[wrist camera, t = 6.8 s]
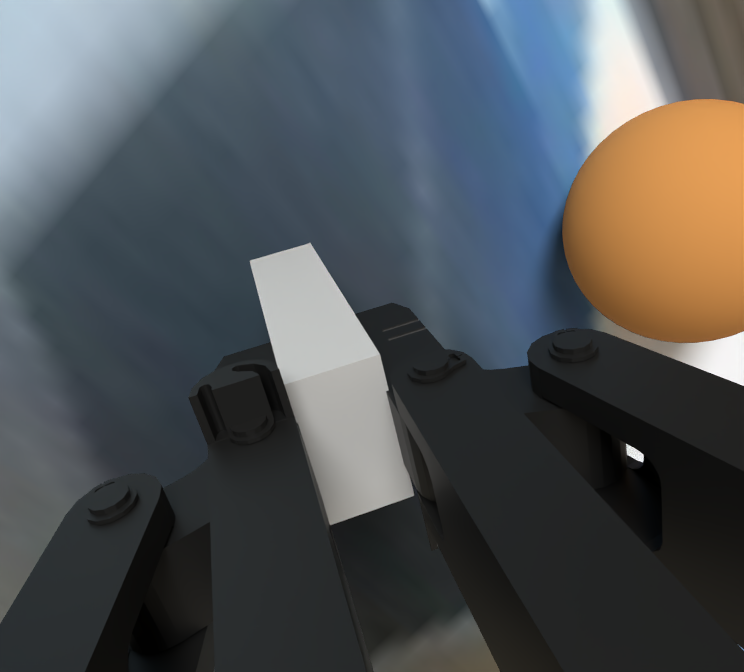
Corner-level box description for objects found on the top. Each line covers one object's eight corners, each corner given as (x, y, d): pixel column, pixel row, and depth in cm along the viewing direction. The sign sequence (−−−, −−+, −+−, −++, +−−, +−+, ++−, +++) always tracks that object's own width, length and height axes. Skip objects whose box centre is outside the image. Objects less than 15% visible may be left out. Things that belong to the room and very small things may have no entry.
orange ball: (785, 280, 19) (573, 277, 21) (824, 64, 16) (573, 88, 18) (829, 400, 14) (551, 380, 16) (895, 125, 11) (546, 146, 14)
